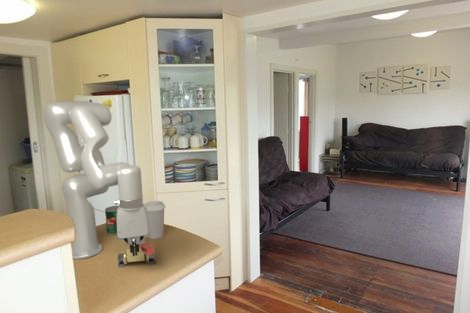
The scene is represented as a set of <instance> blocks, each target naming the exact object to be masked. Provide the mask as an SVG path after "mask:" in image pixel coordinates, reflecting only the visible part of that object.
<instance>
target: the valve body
mask: <svg viewBox="0 0 470 313" xmlns="http://www.w3.org/2000/svg"><path fill="white" fill-rule="evenodd" d="M127 244H128V243H127ZM134 249H135V245H134ZM156 259H157V256H156V252H155V253H154V254H151V255H146V254H145V253H143V252H142V251H141V250H140V248H139V252H137V256H136V255H135V256H133V254H132V253H130V245H129V244H128V245H127V246H126V250H123V253H118V255H117V263H118V264H117V268H124V267H125V266H126V265H128V264H129V263H132V262H134V263H135V262H143V261H146V264H149V265H156Z"/></svg>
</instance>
